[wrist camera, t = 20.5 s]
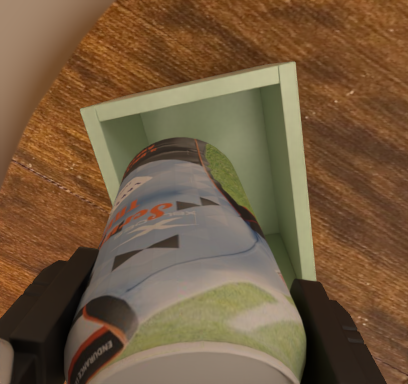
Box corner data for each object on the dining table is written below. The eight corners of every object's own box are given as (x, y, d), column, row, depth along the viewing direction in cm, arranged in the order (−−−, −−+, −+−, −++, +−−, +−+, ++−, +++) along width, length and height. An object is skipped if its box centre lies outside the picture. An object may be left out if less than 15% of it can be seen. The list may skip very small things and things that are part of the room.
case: (127, 95, 26) (78, 109, 17) (266, 64, 25) (295, 60, 16) (172, 252, 32) (153, 327, 23) (288, 234, 30) (319, 305, 21)
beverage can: (155, 110, 16) (2, 219, 4) (281, 174, 17) (413, 395, 5) (112, 210, 18) (-64, 452, 7) (225, 262, 19) (238, 546, 8)
